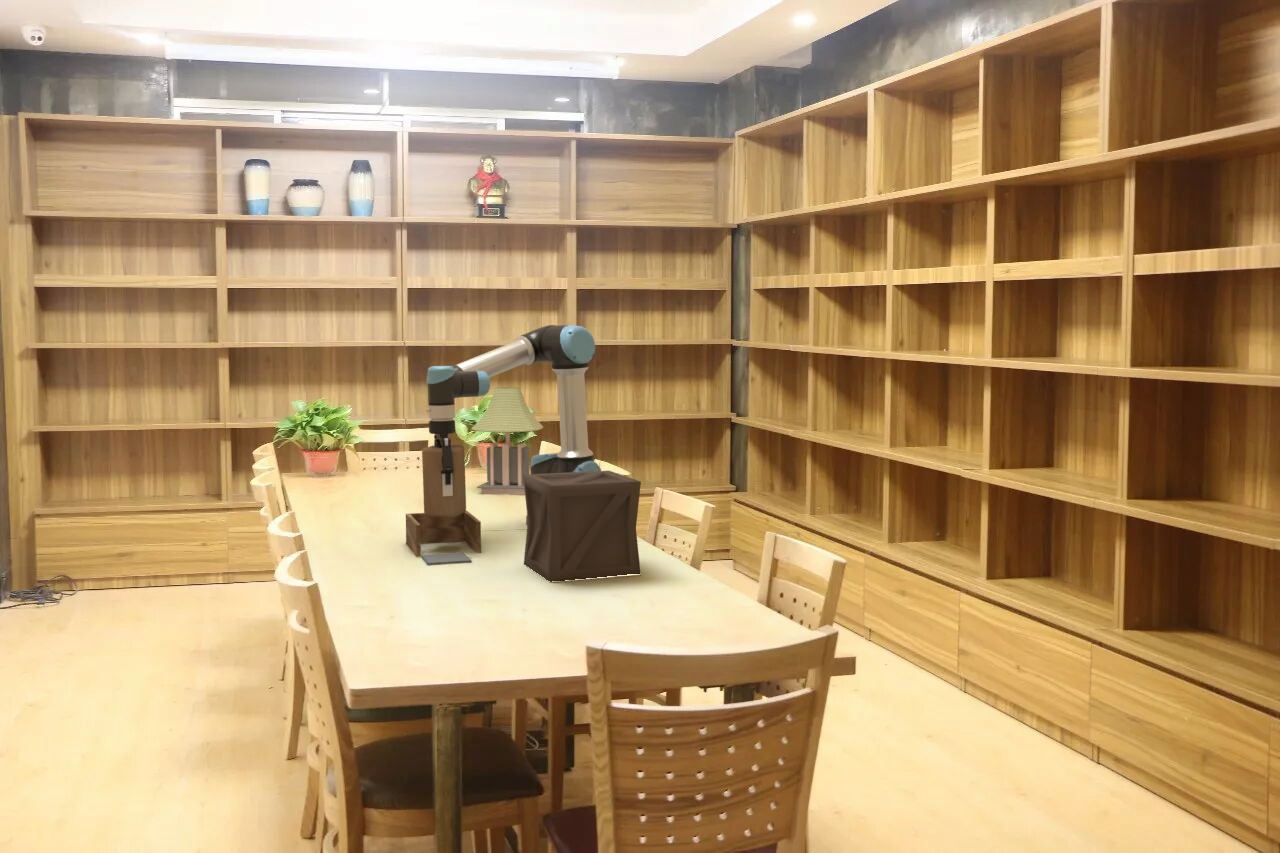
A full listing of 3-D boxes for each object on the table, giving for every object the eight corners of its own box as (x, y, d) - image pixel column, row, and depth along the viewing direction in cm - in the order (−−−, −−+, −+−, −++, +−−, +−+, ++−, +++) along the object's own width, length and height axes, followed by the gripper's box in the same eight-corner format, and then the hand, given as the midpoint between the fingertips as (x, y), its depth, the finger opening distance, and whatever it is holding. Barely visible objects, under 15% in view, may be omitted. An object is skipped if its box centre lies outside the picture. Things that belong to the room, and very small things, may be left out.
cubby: (467, 540, 379) (467, 510, 378) (481, 552, 359) (480, 521, 358) (406, 543, 373) (405, 513, 372) (416, 556, 353) (416, 525, 352)
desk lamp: (465, 496, 469) (463, 389, 466) (486, 486, 497) (485, 385, 493) (531, 498, 465) (530, 390, 461) (549, 487, 493) (548, 385, 489)
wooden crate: (609, 559, 351) (608, 470, 349) (641, 575, 328) (640, 479, 326) (523, 566, 342) (522, 474, 340) (550, 583, 319) (549, 484, 317)
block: (456, 518, 358) (454, 448, 356) (423, 517, 360) (420, 448, 358) (467, 512, 368) (465, 444, 366) (435, 511, 370) (432, 444, 368)
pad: (463, 554, 356) (463, 552, 356) (471, 562, 345) (471, 560, 345) (421, 557, 352) (421, 554, 352) (427, 565, 341) (427, 563, 341)
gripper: (422, 416, 372) (424, 487, 374) (435, 424, 348) (437, 499, 350) (447, 415, 374) (449, 485, 376) (462, 422, 350) (464, 498, 353)
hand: (443, 492), depth 363 cm, fingers closed on block, 13 cm apart
